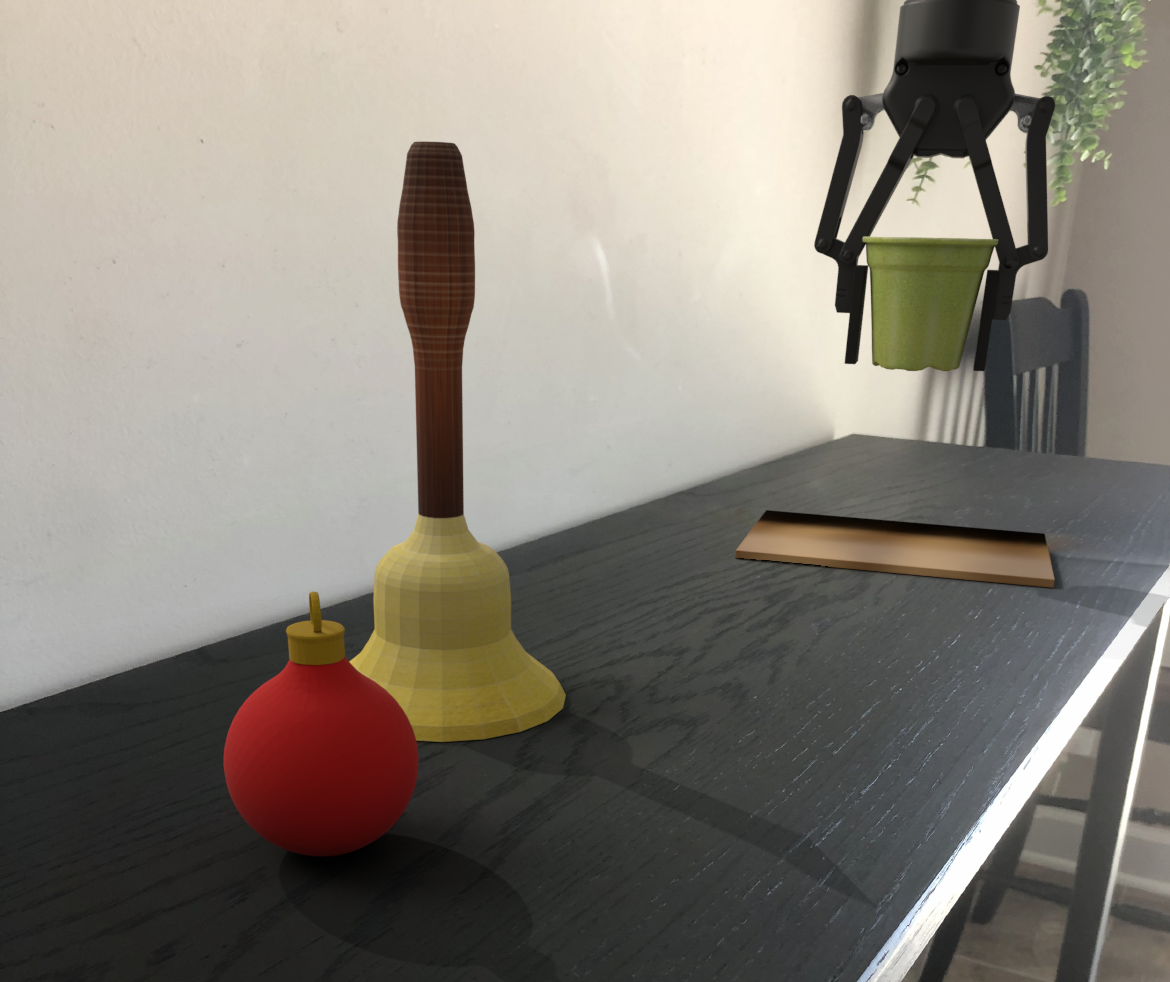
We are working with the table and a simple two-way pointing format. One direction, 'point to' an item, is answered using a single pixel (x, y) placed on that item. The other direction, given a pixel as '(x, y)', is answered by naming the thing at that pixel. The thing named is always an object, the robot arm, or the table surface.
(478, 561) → the handbell
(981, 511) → the table surface
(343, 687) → the christmas ornament
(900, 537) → the wooden board
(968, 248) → the plant pot
